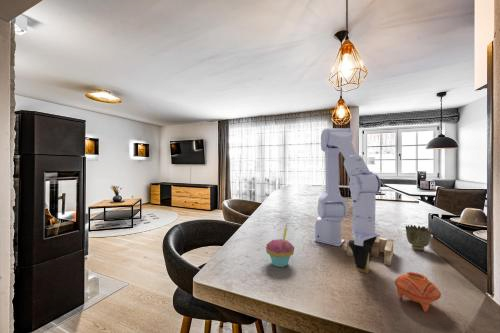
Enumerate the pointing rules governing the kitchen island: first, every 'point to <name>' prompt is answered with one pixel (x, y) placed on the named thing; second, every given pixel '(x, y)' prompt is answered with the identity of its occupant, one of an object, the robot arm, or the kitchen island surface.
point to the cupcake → (280, 251)
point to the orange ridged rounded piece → (417, 289)
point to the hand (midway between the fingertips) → (363, 263)
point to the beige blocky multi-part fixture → (385, 247)
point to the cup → (418, 237)
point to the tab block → (372, 254)
